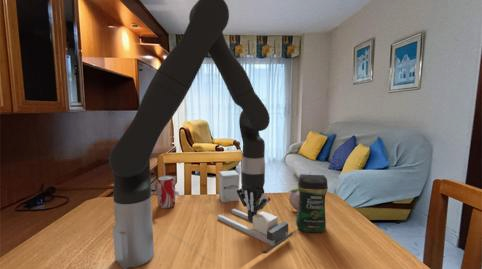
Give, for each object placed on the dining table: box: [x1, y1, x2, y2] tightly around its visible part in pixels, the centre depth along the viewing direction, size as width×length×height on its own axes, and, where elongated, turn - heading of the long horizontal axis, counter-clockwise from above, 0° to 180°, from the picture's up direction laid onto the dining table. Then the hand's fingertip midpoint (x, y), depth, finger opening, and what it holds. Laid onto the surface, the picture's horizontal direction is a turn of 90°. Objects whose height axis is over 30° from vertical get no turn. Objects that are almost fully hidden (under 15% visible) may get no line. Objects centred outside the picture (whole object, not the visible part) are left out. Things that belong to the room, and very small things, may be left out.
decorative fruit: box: [288, 188, 300, 211], centre depth 98 cm, size 9×8×10 cm
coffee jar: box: [295, 173, 329, 233], centre depth 85 cm, size 10×8×19 cm
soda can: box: [156, 175, 176, 209], centre depth 104 cm, size 7×7×12 cm
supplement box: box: [218, 170, 240, 203], centre depth 109 cm, size 7×7×13 cm
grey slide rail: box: [217, 208, 294, 254], centre depth 85 cm, size 24×14×5 cm, turn 46°
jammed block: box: [252, 211, 279, 236], centre depth 81 cm, size 6×5×6 cm
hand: (252, 220), depth 84 cm, fingers closed
